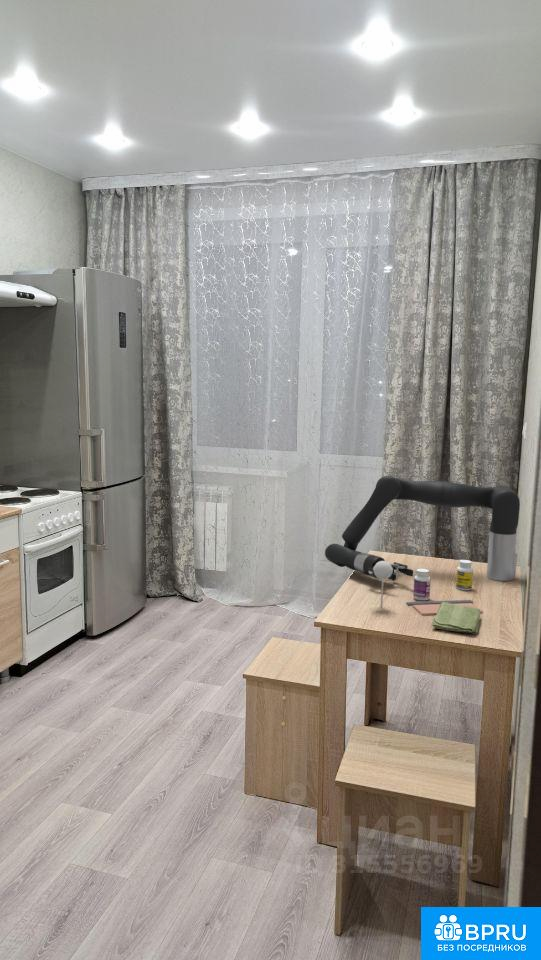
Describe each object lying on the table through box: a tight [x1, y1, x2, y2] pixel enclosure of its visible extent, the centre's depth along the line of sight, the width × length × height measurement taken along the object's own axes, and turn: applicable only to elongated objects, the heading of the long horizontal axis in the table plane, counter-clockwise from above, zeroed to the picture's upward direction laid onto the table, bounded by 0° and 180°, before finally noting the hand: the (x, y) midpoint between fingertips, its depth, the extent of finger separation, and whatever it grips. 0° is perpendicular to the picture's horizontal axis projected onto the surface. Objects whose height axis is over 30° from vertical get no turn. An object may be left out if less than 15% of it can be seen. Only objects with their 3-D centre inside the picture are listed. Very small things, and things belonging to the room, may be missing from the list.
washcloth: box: [431, 602, 481, 635], centre depth 204 cm, size 13×18×3 cm
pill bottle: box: [412, 568, 431, 602], centre depth 227 cm, size 5×5×10 cm
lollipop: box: [373, 560, 393, 608], centre depth 217 cm, size 6×6×15 cm
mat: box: [406, 599, 484, 616], centre depth 218 cm, size 22×11×1 cm, turn 99°
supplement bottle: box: [455, 559, 474, 591], centre depth 238 cm, size 5×5×10 cm
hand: (404, 575), depth 233 cm, fingers open, 8 cm apart
